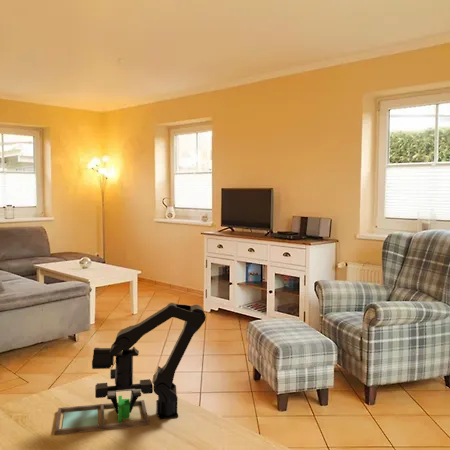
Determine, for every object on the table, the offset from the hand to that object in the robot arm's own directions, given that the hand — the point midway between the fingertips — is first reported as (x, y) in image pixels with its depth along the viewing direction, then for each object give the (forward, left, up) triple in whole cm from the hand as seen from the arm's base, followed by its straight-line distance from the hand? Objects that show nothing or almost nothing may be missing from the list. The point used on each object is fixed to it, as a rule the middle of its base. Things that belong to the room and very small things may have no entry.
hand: (123, 412), depth 162 cm
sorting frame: (+7, 0, -1) cm, 7 cm away
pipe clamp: (0, 0, -1) cm, 1 cm away
